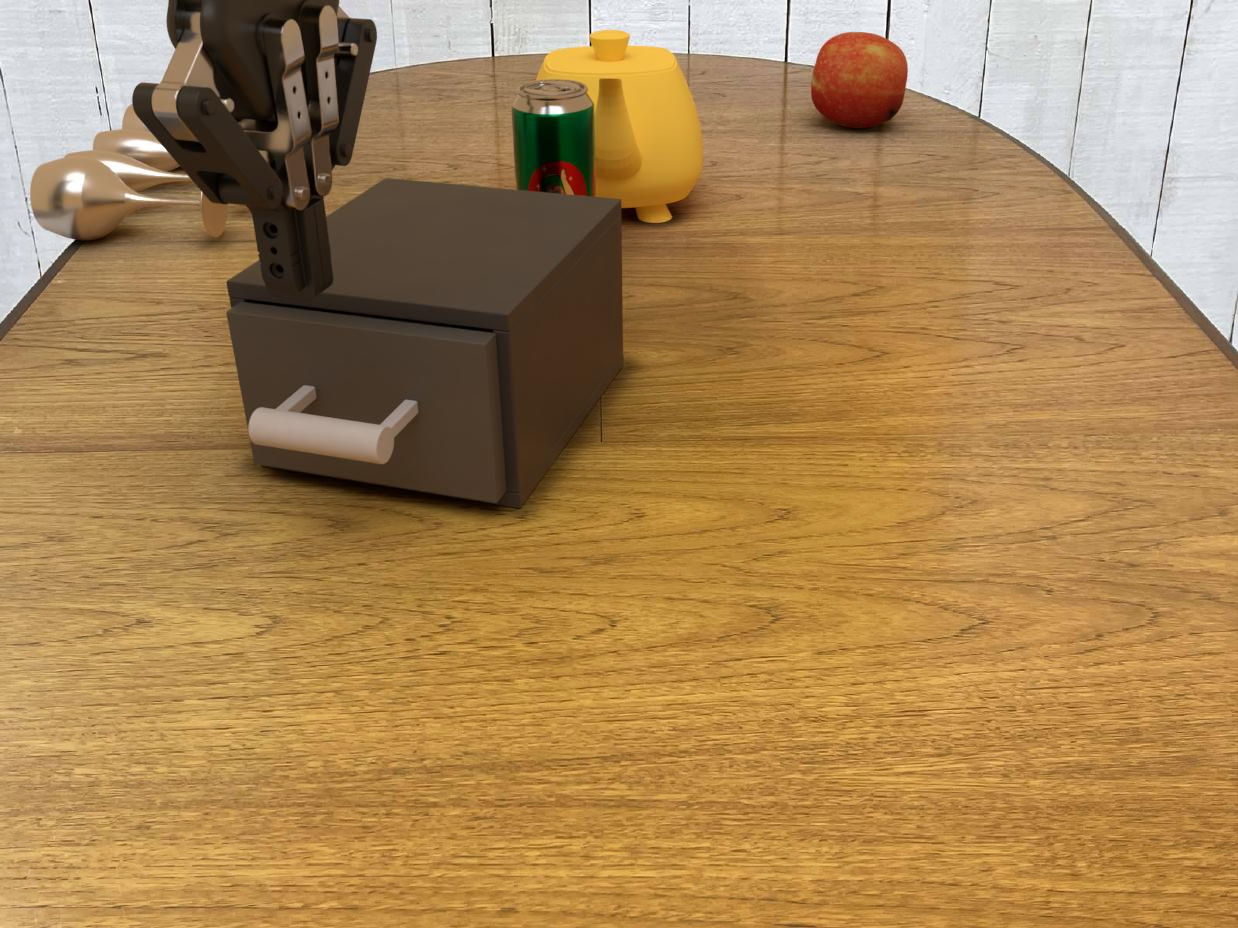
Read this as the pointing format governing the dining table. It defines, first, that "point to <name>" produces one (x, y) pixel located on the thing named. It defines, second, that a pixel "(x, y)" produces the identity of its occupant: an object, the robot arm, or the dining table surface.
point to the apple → (859, 79)
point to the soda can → (554, 138)
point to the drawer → (371, 399)
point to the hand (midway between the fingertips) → (300, 292)
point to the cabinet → (489, 295)
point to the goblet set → (110, 184)
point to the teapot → (636, 121)
